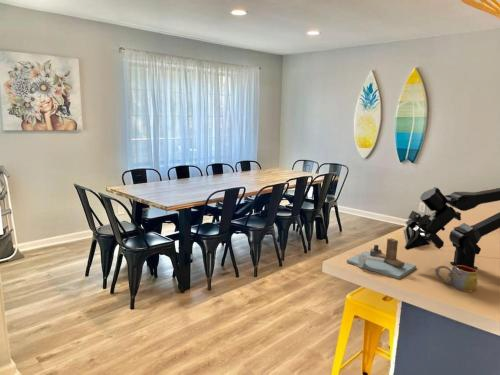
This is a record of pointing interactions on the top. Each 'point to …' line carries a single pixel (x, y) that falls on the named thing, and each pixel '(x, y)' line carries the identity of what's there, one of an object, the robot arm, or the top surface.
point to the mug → (460, 277)
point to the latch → (388, 253)
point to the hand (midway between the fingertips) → (405, 248)
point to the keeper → (363, 258)
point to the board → (383, 266)
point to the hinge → (407, 233)
